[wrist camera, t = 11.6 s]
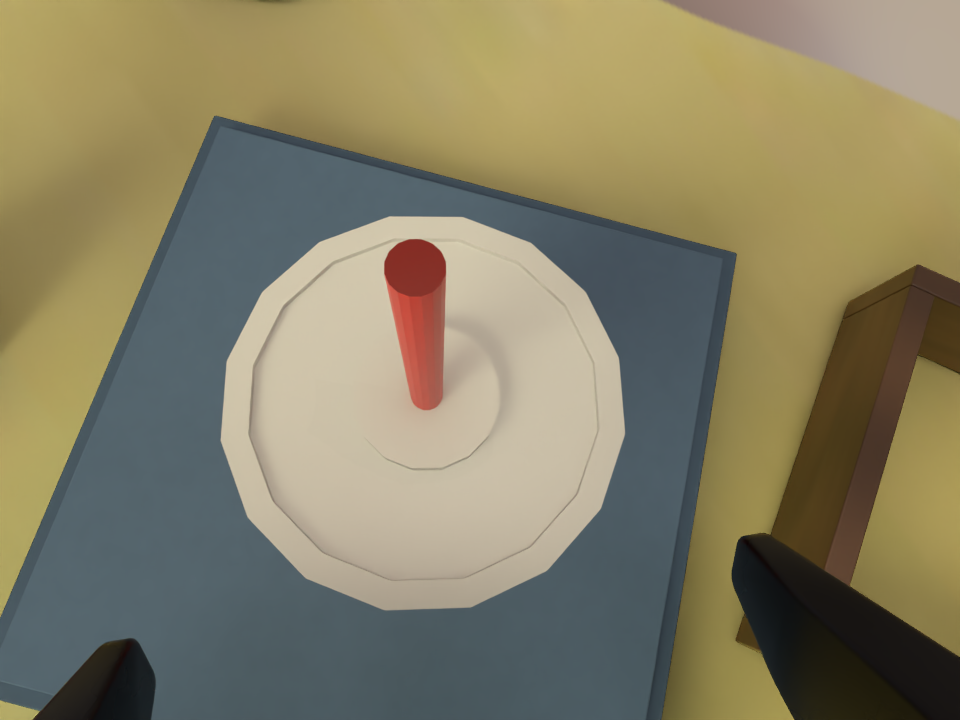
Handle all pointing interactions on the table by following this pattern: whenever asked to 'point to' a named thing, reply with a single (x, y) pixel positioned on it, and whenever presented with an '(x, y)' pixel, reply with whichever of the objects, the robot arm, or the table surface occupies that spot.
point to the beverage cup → (422, 413)
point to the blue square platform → (265, 570)
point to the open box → (862, 416)
